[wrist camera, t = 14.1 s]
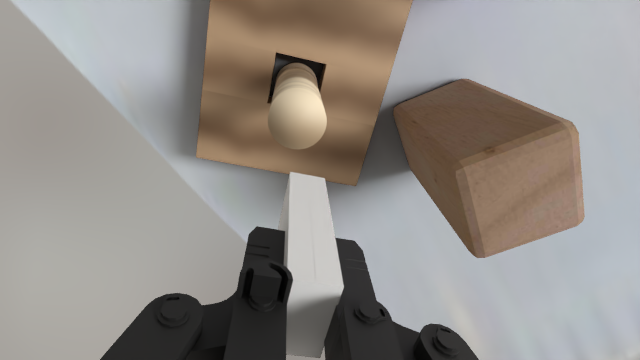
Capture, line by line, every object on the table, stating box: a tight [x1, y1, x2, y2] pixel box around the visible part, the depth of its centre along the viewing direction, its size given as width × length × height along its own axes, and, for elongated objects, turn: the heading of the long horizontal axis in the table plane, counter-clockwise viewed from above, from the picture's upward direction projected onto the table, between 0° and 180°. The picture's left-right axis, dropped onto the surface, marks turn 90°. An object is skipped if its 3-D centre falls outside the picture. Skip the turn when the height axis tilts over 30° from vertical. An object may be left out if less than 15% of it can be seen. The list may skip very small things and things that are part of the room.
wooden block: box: [393, 79, 584, 258], centre depth 37 cm, size 10×10×20 cm
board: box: [196, 0, 413, 186], centre depth 41 cm, size 22×20×4 cm
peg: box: [268, 62, 327, 149], centre depth 35 cm, size 5×5×18 cm
